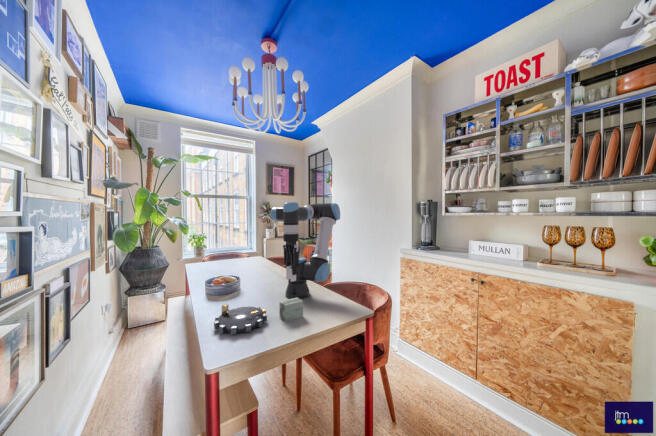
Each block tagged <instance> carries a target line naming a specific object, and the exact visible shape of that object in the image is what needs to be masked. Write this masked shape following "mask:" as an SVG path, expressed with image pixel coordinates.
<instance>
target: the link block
mask: <svg viewBox="0 0 656 436" xmlns="http://www.w3.org/2000/svg"><path fill="white" fill-rule="evenodd" d="M302 317H303V318H304V300H303V299H299V298H292V299H291V298H287V299H285V300H281V301H279V319H280V320H281V321H283V322H285V323H286V322H289V321H292V320H296V319H299V318H302Z"/></svg>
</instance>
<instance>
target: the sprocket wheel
mask: <svg viewBox="0 0 656 436" xmlns="http://www.w3.org/2000/svg"><path fill="white" fill-rule="evenodd" d="M229 307H230V306H229V304H227V303H226V304H223V305H221V314H220V315H216V316H215V317H214V318H215V319H214V321H213V328H214V330H218V333H221V334H224V333H228V334H229V333H230V334H231V335H237V333H242V332H243V333H244V332H245V333H248V332H251V331H252V330H253V329H255V328H260V327H262V326H263V322H267V319H268V313H267V310H266V308H263V309H261V307H260V306H251V305H245V306H241V307H238V306H236V307H233V308H232V309H229Z"/></svg>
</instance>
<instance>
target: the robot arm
mask: <svg viewBox="0 0 656 436" xmlns="http://www.w3.org/2000/svg"><path fill="white" fill-rule="evenodd" d="M340 209H341V208H340V206H339V205H338V204H337V203H335V202H334V203H333V202H330V203H329V202H328V203H327V202H326V203H321V202H320V203H313V204H306V205H304V206H299V203H298V202H291V201H290V202H288V201H287V202H284V203H283V207H282V206H281V207H280V206H279V207H278V206H276V207H272V208H271V210H270V214H269V216H270V219H271V220H272V221H277V222H278V221H279V222H281V221H282V222H283V225H282V226H283V230H282V231H283V242H285V244H283V245H282V248H283V264H284V265H285V266H286V267H285V269H286V270H285V271H286V273H285V274H286V275H285V277H286V281H288V282H287V287H286V289H285V297H286V298H287V299H292V298H299V299H301V300H303V299H305V298H308V297H309V296H310V288H309V286H308V283H307V281H311V282H317V283H319V282H320V283H324V282H325V281H327V280H328V278H329V276H330V274H331V265H330V263H329V260H328V259H327V258H328V254H329V253H328V252H329V248H330V244H331V243H330V242H331V237H332V233H333V228H334V225H336V223H337V221H339V220H340V219H341V210H340ZM308 220H319V222H320V225H319V229H318V234H317V236H316V237H317V239H316V242H315V243H316V244H315V246H314V252H313V255H312V256H310V258H309V260H307V258H306V257H300V251H301V247H299V246H297V242H298V241H300V240H299V239H300V238H299V237H300V234H299V228H300V227H299V222H305V221H308Z"/></svg>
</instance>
